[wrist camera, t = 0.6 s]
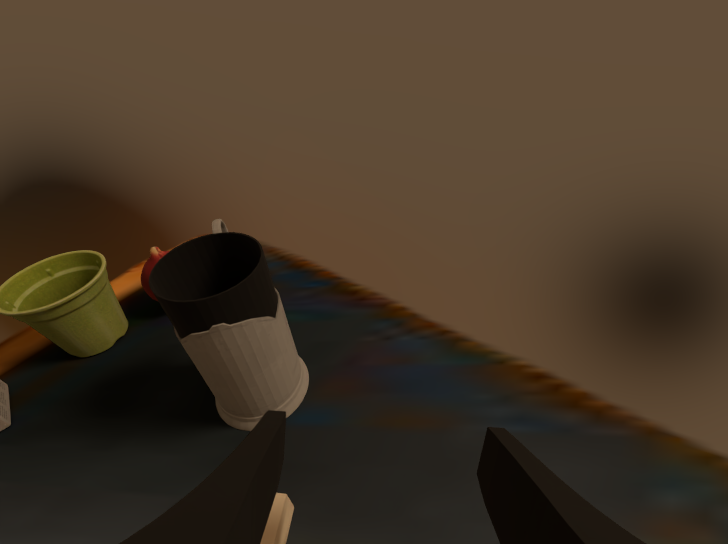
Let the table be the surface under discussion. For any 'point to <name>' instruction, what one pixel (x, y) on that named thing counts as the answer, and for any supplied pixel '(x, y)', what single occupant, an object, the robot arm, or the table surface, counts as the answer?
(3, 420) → the coffee box
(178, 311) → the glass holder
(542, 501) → the robot arm
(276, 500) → the birch base
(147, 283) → the onion
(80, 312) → the plant pot
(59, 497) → the table surface
